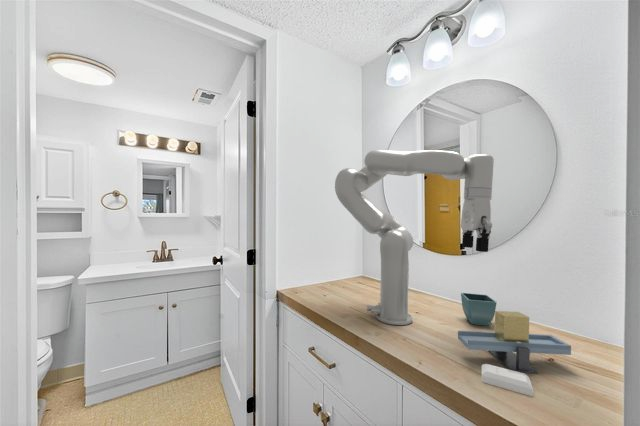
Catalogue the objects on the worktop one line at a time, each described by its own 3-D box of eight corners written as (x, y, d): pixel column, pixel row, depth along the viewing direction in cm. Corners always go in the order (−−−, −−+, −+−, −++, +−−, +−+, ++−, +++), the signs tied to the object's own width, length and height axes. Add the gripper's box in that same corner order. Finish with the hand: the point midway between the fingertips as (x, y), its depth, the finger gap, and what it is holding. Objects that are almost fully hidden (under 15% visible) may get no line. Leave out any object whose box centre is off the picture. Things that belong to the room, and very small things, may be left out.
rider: (503, 344, 67) (504, 316, 67) (494, 337, 71) (495, 310, 71) (528, 345, 67) (529, 317, 67) (518, 338, 71) (518, 311, 71)
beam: (469, 350, 66) (470, 341, 66) (456, 337, 73) (457, 329, 73) (572, 356, 65) (572, 346, 65) (549, 342, 72) (549, 333, 72)
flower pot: (496, 329, 89) (497, 302, 90) (467, 326, 91) (468, 299, 91) (486, 319, 98) (486, 294, 98) (459, 316, 100) (460, 292, 100)
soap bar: (481, 372, 64) (481, 361, 64) (528, 385, 60) (529, 373, 60) (481, 383, 60) (481, 371, 60) (532, 398, 56) (532, 385, 56)
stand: (511, 372, 64) (512, 349, 64) (487, 351, 74) (488, 331, 74) (538, 373, 64) (538, 350, 64) (510, 352, 74) (510, 332, 74)
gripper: (454, 196, 94) (451, 245, 94) (477, 192, 77) (474, 252, 77) (477, 197, 93) (474, 246, 93) (506, 193, 76) (502, 254, 76)
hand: (474, 249), depth 85 cm, fingers open, 9 cm apart
